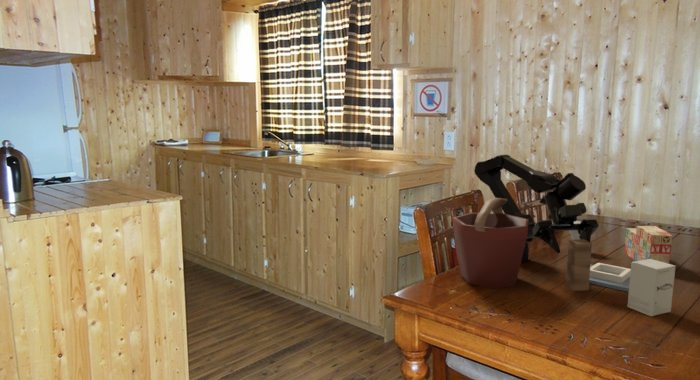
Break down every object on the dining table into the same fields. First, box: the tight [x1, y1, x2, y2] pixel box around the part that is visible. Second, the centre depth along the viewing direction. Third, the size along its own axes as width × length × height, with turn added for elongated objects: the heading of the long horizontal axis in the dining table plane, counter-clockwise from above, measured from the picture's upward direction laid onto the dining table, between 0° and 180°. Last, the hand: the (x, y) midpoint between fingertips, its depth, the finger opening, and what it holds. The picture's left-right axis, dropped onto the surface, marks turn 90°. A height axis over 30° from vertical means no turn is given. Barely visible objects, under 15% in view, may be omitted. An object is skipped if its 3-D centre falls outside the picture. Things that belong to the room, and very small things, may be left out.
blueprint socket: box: [589, 262, 631, 293], centre depth 159 cm, size 16×16×3 cm
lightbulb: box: [569, 220, 582, 240], centre depth 189 cm, size 6×6×11 cm
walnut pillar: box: [565, 239, 593, 292], centre depth 151 cm, size 4×4×14 cm
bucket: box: [452, 197, 528, 289], centre depth 158 cm, size 24×22×25 cm
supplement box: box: [627, 259, 676, 317], centre depth 134 cm, size 7×7×13 cm
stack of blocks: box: [624, 225, 673, 264], centre depth 175 cm, size 21×6×12 cm, turn 171°
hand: (574, 252), depth 153 cm, fingers open, 9 cm apart
